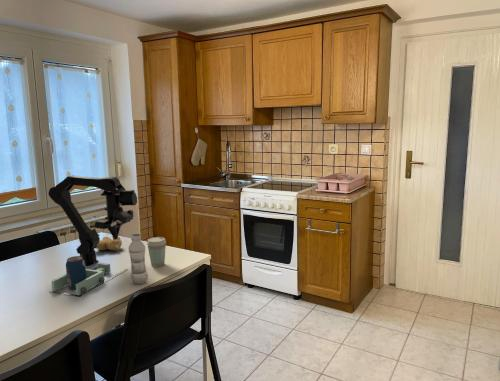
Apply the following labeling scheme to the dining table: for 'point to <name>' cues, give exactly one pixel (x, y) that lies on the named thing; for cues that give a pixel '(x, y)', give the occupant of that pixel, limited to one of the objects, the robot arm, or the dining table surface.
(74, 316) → the dining table surface
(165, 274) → the dining table surface
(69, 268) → the soda can
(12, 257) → the dining table surface
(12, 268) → the dining table surface
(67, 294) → the rails
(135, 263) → the plastic bottle
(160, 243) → the coffee cup
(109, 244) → the ginger root
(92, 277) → the cart
